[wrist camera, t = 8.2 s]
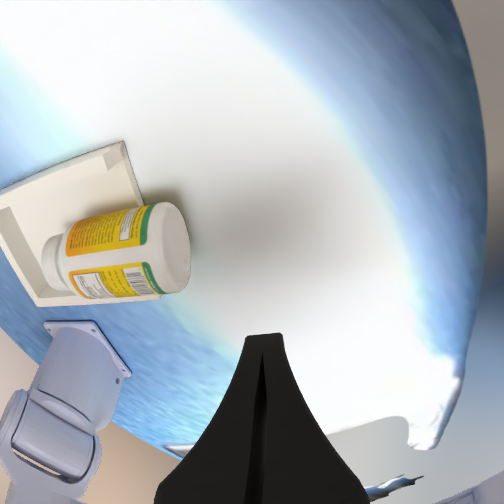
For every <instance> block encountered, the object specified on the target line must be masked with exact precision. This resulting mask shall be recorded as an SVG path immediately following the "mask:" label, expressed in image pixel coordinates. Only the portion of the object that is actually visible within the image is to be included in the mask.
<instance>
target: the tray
mask: <svg viewBox="0 0 504 504" xmlns="http://www.w3.org/2000/svg"><path fill="white" fill-rule="evenodd" d="M141 206H144V203H143V200H142V197H141V194H140V192H139V189H138V186H137V183H136V180H135V177H134V173H133V170H132V167H131V164H130V161H129V158H128V154H127V151H126V148H125V145H124V141H121V142H118V143H115V144H112V145H109V146H106V147H103V148H100V149H97V150H94V151H91V152H88V153H85V154H83V155H80V156H77V157H75V158H72V159H69V160H67V161H64V162H62V163H59V164H57V165H54V166H52V167H49V168H47V169H45V170H42V171H40V172H38V173H35V174H33V175H31V176H29V177H26V178H24V179H22V180H20V181H18V182H16V183H14V184H11V185H9V186H7V187H5V188H3V189H2V190H0V246H1V248H2V250H3V251H4V253H5V255H6V257H7V259H8V261H9V262H10V264H11V266H12V267H13V269H14V271H15V273H16V274H17V276H18V278H19V279H20V281H21V282H22V284H23V286H24V287H25V289H26V290H27V292H28V294H29V295H30V297H31V298H32V300H33V301H34V303H35V304H36V306H37V307H50V306H71V305H89V304H105V303H120V302H134V301H147V300H159V299H161V296H162V294H159V295H146V296H134V297H120V298H105V299H84V298H81V297H79V296H78V295H76V294H75V293H74V292H73V291H57V290H55V289H53V288H52V287H51V286H50V285H49V284H48V282H47V281H46V279H45V277H44V274H43V271H42V266H41V254H42V249H43V247H44V244H45V243H46V241H47V240H48V239H49V238H50V237H52V236H55V235H58V234H61V233H65V231H66V230H67V229H68V227H69V226H70V225H71V224H73V223H74V222H76V221H78V220H81V219H85V218H89V217H93V216H98V215H103V214H107V213H112V212H117V211H122V210H126V209H131V208H136V207H141Z"/></svg>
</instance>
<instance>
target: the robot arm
mask: <svg viewBox="0 0 504 504" xmlns="http://www.w3.org/2000/svg"><path fill="white" fill-rule="evenodd" d="M44 327H45V328H46V330H47V331H48V332H49V334H50V335H51V336H52V337H53V340H52V342H51V344H50V346H49V348H48V350H47V352H46V354H45V356H44V358H43V360H42V362H41V364H40V367H39V369H38V371H37V373H36V375H35V377H34V380H33V382H32V384H31V386H30V389H29V390H28V391H27V392H26V391H25V390H23V389H21V390H17V391H15V392H14V393H13V395H12V396H11V398H10V400H9V402H8V404H7V406H6V408H5V410H4V413H3V415H2V418H1V420H0V463H1V465H2V466H3V468H4V470H5V471H6V473H7V474H8V476H9V478H10V479H11V482H10V486H9V489H8V493H7V497H6V500H5V504H86V503H83V502H81V501H78V500H76V499H77V498H81V497H83V496H84V493H85V492H86V490H87V487H88V485H89V482H90V480H91V479H92V477H93V476H94V475H95V473H96V472H97V470H98V467H99V464H100V461H101V455H102V448H101V444H100V440H99V437H98V436H97V435H96V434H95V431H99V430H101V429H103V428H105V427H106V426H107V425H108V424H109V423H110V421H111V420H112V418H113V415H114V412H115V409H116V405H117V402H118V398H119V395H120V392H121V388H122V385H123V382H124V379H125V377H131V376H132V373H131V372H130V370H129V369H128V368H127V366H126V365H125V364H124V363H123V361H122V360H121V359H120V357H119V356H118V355H117V353H116V352H115V351H114V349H113V348H112V347H111V345H110V344H109V342H108V341H107V340H106V338H105V337H104V335H103V334H102V332H101V331H100V330H99V328H98V327H97V325H96V324H95V323H94V322H91V321H87V322H45V323H44ZM11 447H12V448H13V449H15V450H17V451H18V452H20V453H22V454H24V455H25V456H27V457H29V458H30V459H32V460H34V461H36V462H38V463H40V464H41V465H43V466H45V467H47V468H49V469H51V470H53V471H55V472H57V473H60V474H61V475H56V474H53V473H51V472H49V471H47V470H44V469H43V468H41V467H39V466H37V465H35V464H33V463H31V462H30V461H28V460H26V459H24V458H23V457H21V456H19V455H17V454H16V453H15V452H13V451H12V448H11ZM154 504H370V500H369V497H368V495H367V493H366V491H365V489H364V488H363V486H362V484H361V482H360V480H359V479H358V478H357V476H356V475H355V474H354V473H353V472H352V471H351V470H350V468H349V467H348V466H347V465H346V464H345V462H344V461H343V460H342V458H341V457H340V456H339V455H338V453H337V452H336V450H335V449H334V448H333V446H332V445H331V443H330V442H329V440H328V439H327V437H326V436H325V434H324V433H323V431H322V430H321V428H320V426H319V425H318V423H317V422H316V420H315V418H314V416H313V415H312V413H311V411H310V409H309V408H308V406H307V404H306V402H305V400H304V398H303V396H302V394H301V392H300V390H299V387H298V385H297V383H296V380H295V378H294V375H293V373H292V370H291V368H290V365H289V362H288V359H287V356H286V352H285V348H284V341H283V335H282V334H281V333H271V334H261V335H250V336H247V337H246V338H245V342H244V346H243V350H242V353H241V356H240V359H239V362H238V365H237V368H236V370H235V373H234V375H233V378H232V380H231V382H230V385H229V387H228V389H227V391H226V393H225V395H224V397H223V400H222V402H221V404H220V406H219V407H218V409H217V411H216V413H215V415H214V416H213V418H212V420H211V421H210V423H209V425H208V426H207V428H206V429H205V431H204V432H203V434H202V435H201V437H200V438H199V440H198V441H197V442H196V444H195V445H194V446H193V448H192V449H191V450H190V451H189V453H188V454H187V455H186V456H185V457H184V459H183V460H182V461H181V462H180V463H179V465H178V466H177V467H176V468H175V469H174V470H173V471H172V472H171V473H170V474H169V475H168V476H167V477H166V478H165V479H164V480H163V481H162V482H161V483H160V484H159V486H158V488H157V491H156V495H155V498H154ZM434 504H504V470H503V471H502V472H500V473H498V474H496V475H495V476H493V477H491V478H489V479H487V480H485V481H483V482H481V483H479V484H477V485H475V486H473V487H471V488H469V489H467V490H465V491H462V492H460V493H458V494H456V495H454V496H452V497H449V498H447V499H444V500H442V501H439V502H436V503H434Z"/></svg>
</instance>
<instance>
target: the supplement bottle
mask: <svg viewBox="0 0 504 504" xmlns="http://www.w3.org/2000/svg"><path fill="white" fill-rule="evenodd" d="M41 266H42V271H43V274H44V277H45V279H46V281H47V282H48V284H49V285H50V286H51V287H52V288H53V289H55V290H57V291H73V292H74V293H75V294H76V295H78V296H79V297H81V298H84V299H105V298H120V297H134V296H146V295H159V294H170V293H177V292H180V291H181V290H183V289H184V288H185V286H186V285H187V283H188V280H189V277H190V269H191V249H190V241H189V236H188V232H187V228H186V225H185V222H184V219H183V217H182V215H181V213H180V211H179V210H178V209H177V208H176V206H174V205H173V204H171V203H168V202H163V203H156V204H151V205H146V206H141V207H136V208H131V209H126V210H122V211H117V212H112V213H107V214H103V215H98V216H93V217H89V218H85V219H81V220H78V221H76V222H74V223H73V224H71V225H70V226H69V227H68V229H67V230H66V231H65V233H61V234H58V235H55V236H52V237H50V238H49V239H48V240H47V241H46V243H45V244H44V247H43V249H42V254H41Z"/></svg>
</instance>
